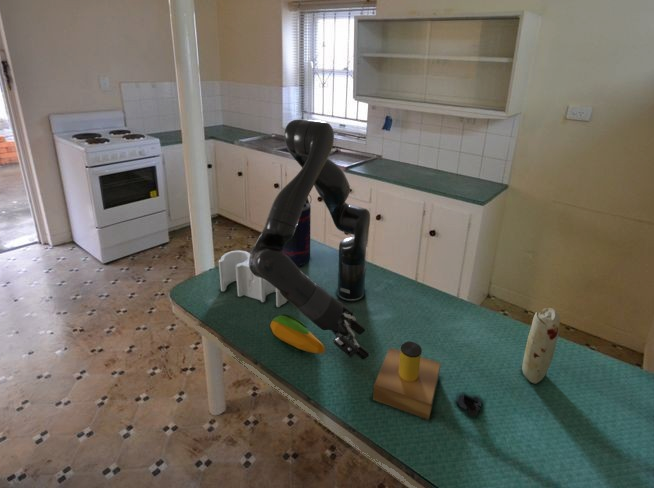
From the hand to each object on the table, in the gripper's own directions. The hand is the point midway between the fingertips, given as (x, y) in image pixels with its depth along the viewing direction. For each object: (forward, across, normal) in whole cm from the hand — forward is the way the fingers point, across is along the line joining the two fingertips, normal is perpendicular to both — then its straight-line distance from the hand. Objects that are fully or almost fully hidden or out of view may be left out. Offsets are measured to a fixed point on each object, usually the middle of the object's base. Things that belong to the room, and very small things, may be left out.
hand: (364, 344), depth 100 cm
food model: (+44, +3, -24) cm, 50 cm away
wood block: (+18, -1, +2) cm, 18 cm away
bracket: (-13, +42, +33) cm, 55 cm away
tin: (+14, -1, -2) cm, 15 cm away
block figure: (+28, -6, -9) cm, 30 cm away
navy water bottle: (-4, +64, +24) cm, 68 cm away
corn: (-2, +15, +22) cm, 27 cm away
